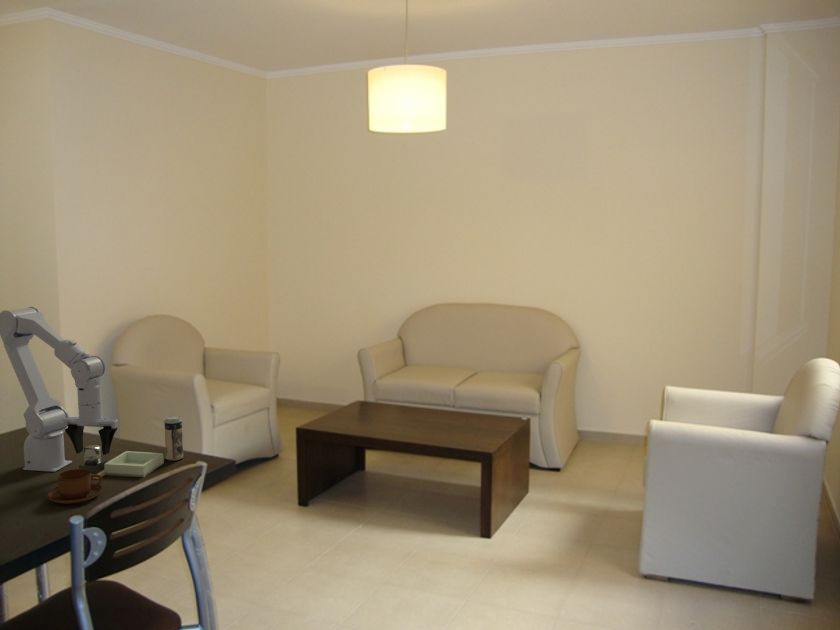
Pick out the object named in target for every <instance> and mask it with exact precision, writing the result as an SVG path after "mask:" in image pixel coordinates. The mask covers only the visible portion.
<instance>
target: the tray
mask: <svg viewBox="0 0 840 630" xmlns="http://www.w3.org/2000/svg"><path fill="white" fill-rule="evenodd" d="M164 460H165V459H164V453H163V452H151V451H150V452H147V451H130V450H129V451H128V450H126V451H124V452H122V453H120V454H119V455H117V456H115V457H113V458H112V459H110V460H108V461H107V463H105V464H104V468H105V475H104V476H115V477H130V478H131V477H133V478H134V477H135V478H145V477H147V476H148V475H149V474H151V473H152V472H154V471H155V470H156V469H158V468H159V467H161V466H163V465H164V464H165V463H164Z"/></svg>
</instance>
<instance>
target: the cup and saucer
mask: <svg viewBox="0 0 840 630" xmlns="http://www.w3.org/2000/svg"><path fill="white" fill-rule="evenodd" d="M93 477H98V478H99V479H98V482H92V479H93ZM102 482H103V476H102V477H101V476H100V475H98V474H94V475H91V472H90V471H89V470H85V469H79V468H77V469H70V470H66V471H63V472H61V473H59V474H57V487H55V488H53V489H51V490H50V491H49V492H48V493H47V499H49V500H50V502H53V503H56V504H63V505H65V504H67V505H68V504H69V505H72V504H78V503H83V502H88V501H90V500H92V499H94V498H95V497H97V496H99V494H100V493H101V492H102V489H103V487H102V484H101V483H102Z"/></svg>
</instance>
